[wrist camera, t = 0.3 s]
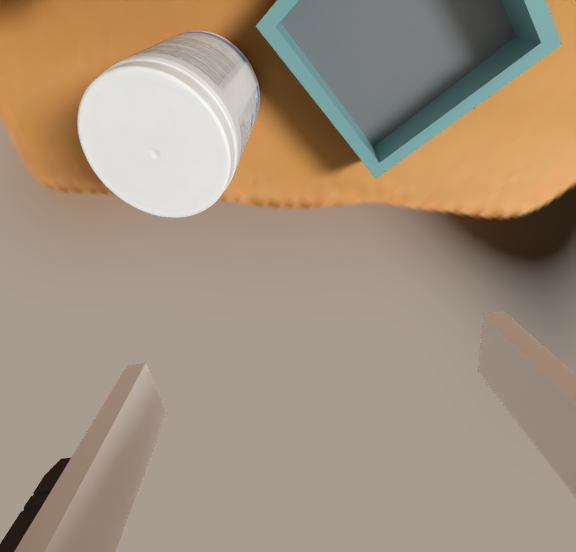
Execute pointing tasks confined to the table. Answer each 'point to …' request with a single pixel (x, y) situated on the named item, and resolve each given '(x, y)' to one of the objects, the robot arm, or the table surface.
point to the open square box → (405, 62)
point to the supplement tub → (171, 123)
